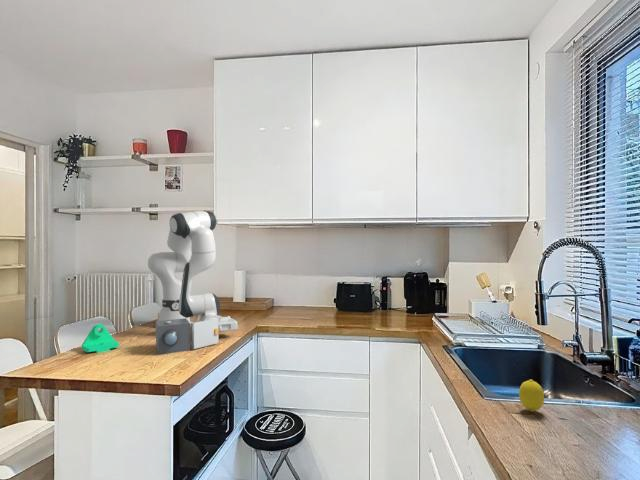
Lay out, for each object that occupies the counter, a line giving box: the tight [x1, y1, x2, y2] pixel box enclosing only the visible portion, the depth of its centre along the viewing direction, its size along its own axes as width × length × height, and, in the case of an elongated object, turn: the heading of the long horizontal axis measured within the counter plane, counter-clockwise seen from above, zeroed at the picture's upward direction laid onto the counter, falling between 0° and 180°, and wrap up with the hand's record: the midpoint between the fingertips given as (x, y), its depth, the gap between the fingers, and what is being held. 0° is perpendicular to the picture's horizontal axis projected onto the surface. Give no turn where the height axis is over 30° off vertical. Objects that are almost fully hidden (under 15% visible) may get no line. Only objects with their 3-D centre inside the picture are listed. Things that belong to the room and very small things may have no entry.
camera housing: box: [155, 318, 191, 355], centre depth 162 cm, size 14×12×12 cm
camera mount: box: [81, 323, 120, 354], centre depth 163 cm, size 12×8×10 cm, turn 134°
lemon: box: [518, 379, 545, 413], centre depth 99 cm, size 6×6×8 cm
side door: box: [190, 319, 220, 350], centre depth 165 cm, size 13×2×10 cm, turn 141°
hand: (217, 330), depth 172 cm, fingers closed
